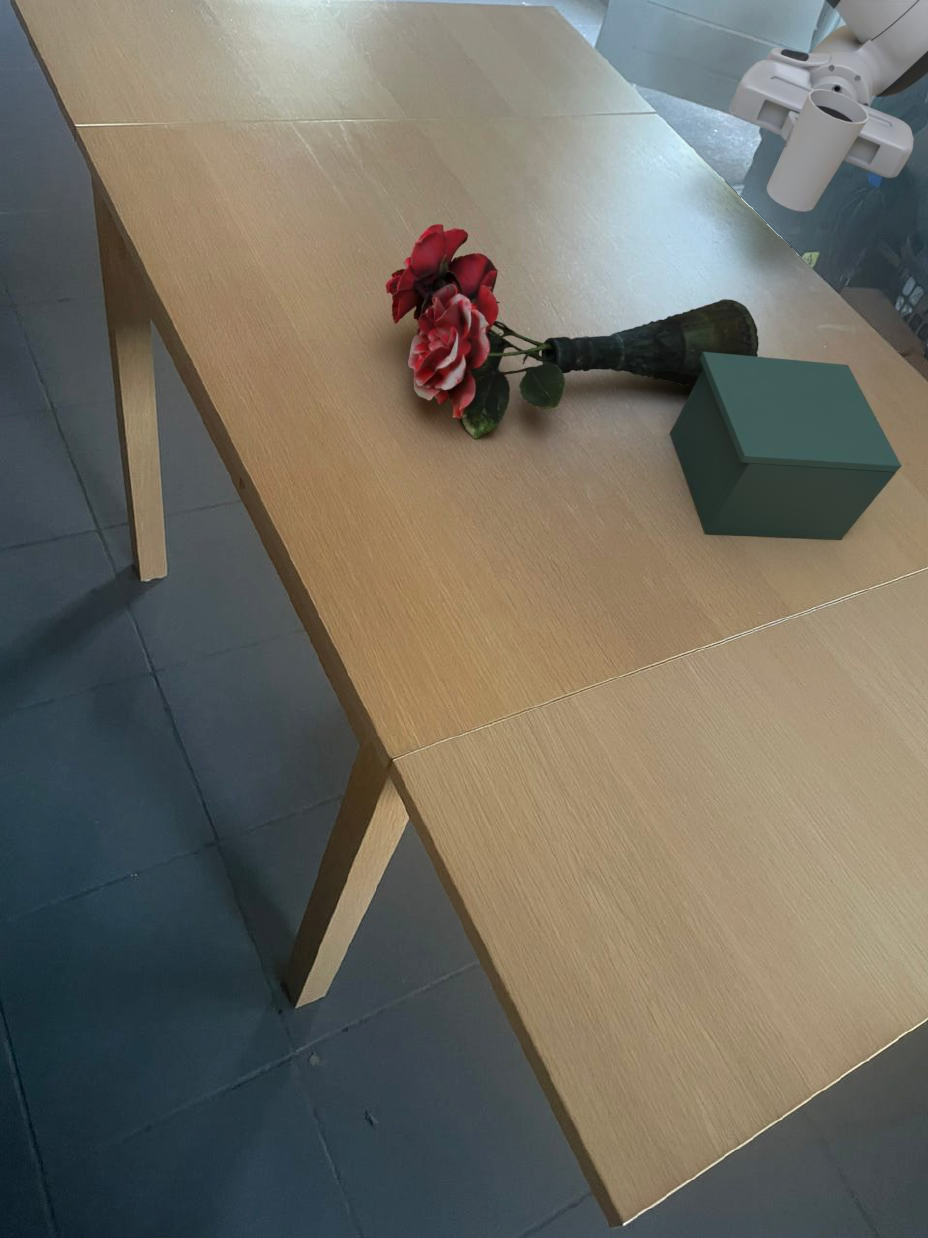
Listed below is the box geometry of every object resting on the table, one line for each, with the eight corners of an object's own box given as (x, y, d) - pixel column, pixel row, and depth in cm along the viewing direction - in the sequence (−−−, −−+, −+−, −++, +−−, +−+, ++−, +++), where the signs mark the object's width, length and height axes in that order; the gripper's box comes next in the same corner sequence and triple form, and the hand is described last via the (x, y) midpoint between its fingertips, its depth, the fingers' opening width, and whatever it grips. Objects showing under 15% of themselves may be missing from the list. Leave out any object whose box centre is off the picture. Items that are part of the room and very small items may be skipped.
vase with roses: (671, 426, 103) (377, 452, 88) (658, 254, 100) (353, 252, 86) (773, 408, 89) (443, 435, 74) (761, 208, 86) (417, 196, 72)
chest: (704, 534, 83) (749, 463, 76) (669, 432, 90) (707, 359, 83) (841, 540, 86) (896, 472, 79) (796, 441, 93) (843, 371, 86)
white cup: (824, 218, 102) (876, 129, 94) (769, 206, 100) (816, 114, 92) (810, 186, 105) (859, 97, 97) (757, 174, 104) (802, 83, 96)
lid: (740, 462, 75) (745, 455, 75) (699, 358, 83) (702, 351, 82) (896, 472, 79) (902, 465, 78) (843, 371, 86) (848, 364, 85)
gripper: (898, 162, 108) (886, 213, 100) (737, 97, 110) (711, 142, 101) (930, 107, 103) (920, 157, 95) (760, 40, 105) (735, 83, 96)
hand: (810, 149), depth 98 cm, fingers closed on white cup, 2 cm apart
